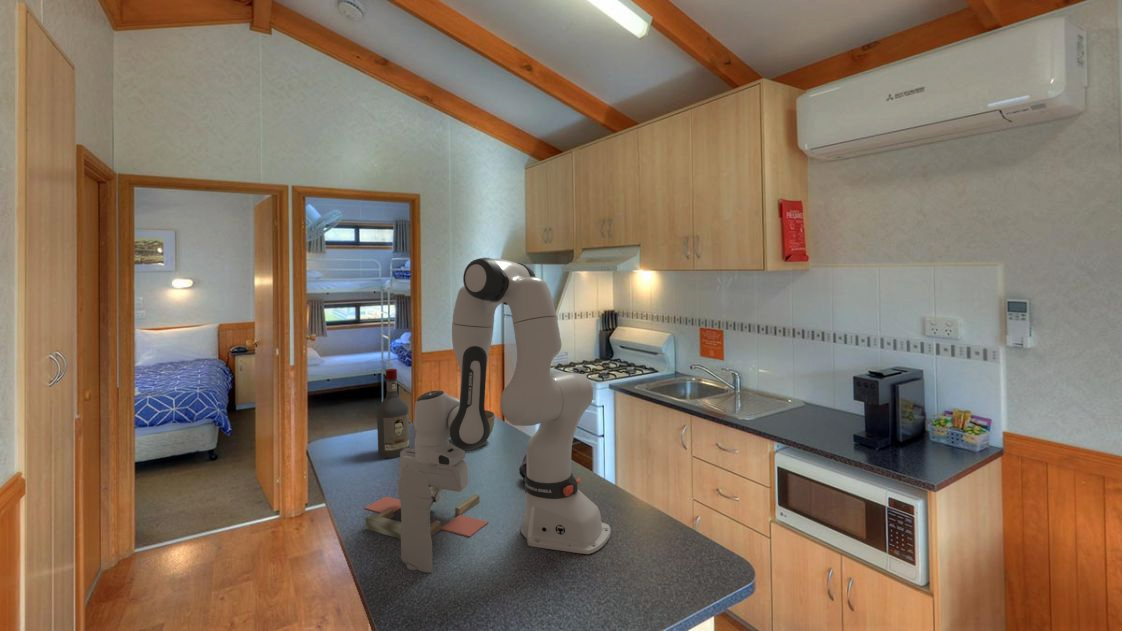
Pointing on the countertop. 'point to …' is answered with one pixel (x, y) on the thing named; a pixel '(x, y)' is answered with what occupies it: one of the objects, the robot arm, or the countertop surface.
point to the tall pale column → (415, 520)
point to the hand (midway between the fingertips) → (433, 501)
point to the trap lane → (393, 528)
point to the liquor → (392, 420)
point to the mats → (457, 525)
